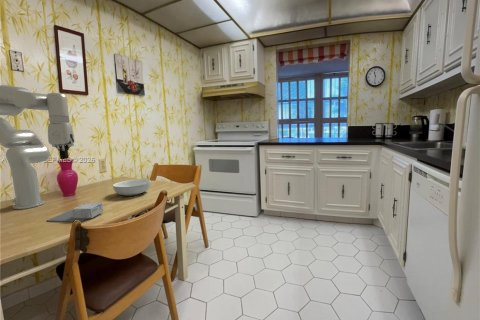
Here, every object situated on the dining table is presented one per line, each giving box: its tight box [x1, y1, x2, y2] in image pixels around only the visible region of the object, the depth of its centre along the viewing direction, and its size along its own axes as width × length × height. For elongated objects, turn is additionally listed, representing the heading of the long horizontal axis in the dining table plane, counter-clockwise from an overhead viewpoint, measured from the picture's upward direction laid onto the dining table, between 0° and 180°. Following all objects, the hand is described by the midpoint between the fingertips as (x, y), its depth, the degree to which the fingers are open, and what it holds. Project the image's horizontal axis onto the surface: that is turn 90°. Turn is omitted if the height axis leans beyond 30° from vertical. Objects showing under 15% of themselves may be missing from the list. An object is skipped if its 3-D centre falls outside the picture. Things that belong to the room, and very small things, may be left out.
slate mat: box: [45, 209, 89, 223], centre depth 107 cm, size 16×14×1 cm
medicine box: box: [71, 202, 104, 219], centre depth 105 cm, size 8×4×9 cm
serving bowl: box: [112, 178, 152, 197], centre depth 142 cm, size 21×21×7 cm
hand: (64, 158), depth 114 cm, fingers closed
